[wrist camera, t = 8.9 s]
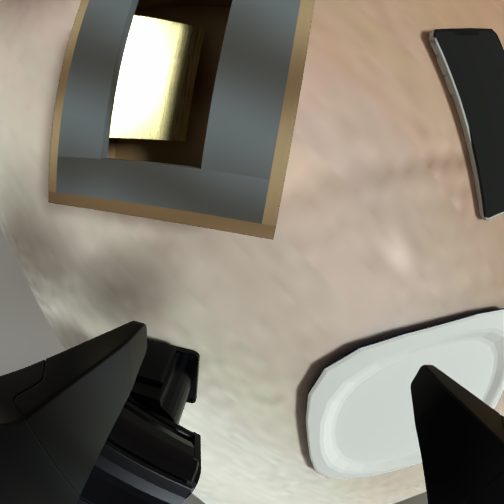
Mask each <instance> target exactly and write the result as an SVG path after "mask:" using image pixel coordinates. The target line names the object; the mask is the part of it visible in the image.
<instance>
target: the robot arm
mask: <svg viewBox="0 0 504 504" xmlns="http://www.w3.org/2000/svg"><path fill="white" fill-rule="evenodd" d="M192 356H193V357H195V358H193V357H192ZM199 359H200V356H199V354H198V353H197V352H195V351H191V350H187V349H182V348H178V347H174V346H170V345H166V344H162V343H158V342H154V341H150V340H147V328H146V325H145V324H144V323H141V322H137V321H131V322H129V323H127V324H125V325H122V326H120V327H118V328H116V329H113V330H111V331H109V332H107V333H104V334H102V335H100V336H98V337H95V338H93V339H91V340H89V341H86V342H84V343H82V344H79V345H77V346H75V347H73V348H70V349H68V350H66V351H64V352H61V353H59V354H57V355H54V356H52V357H50V358H47V359H46V361H45V360H43V361H41V362H38V363H36V364H33V365H31V366H28V367H26V368H23V369H20V370H18V371H15V372H12V373H9V374H6V375H3V376H0V504H182V503H183V501H184V500H185V499H186V498H187V497H188V496H189V495H190V494H191V493H192V492H193V490H194V489H195V487H196V485H197V483H198V480H199V478H200V473H201V441H200V435H199V434H197V433H195V432H191V431H189V430H187V429H186V428H184V427H182V426H180V425H178V424H179V421H180V418H181V415H182V412H183V409H184V406H185V403H186V402H189V403H194V402H195V401H196V398H197V384H198V371H199ZM410 389H411V396H412V404H413V412H414V420H415V427H416V432H417V437H418V442H419V447H420V453H421V458H422V464H423V470H424V476H425V483H426V490H427V498H428V504H504V417H503V416H502V415H500V414H499V413H498V412H496V411H495V410H494V409H492V408H491V407H490V406H488V405H487V404H486V403H484V402H483V401H482V400H480V399H479V398H478V397H476V396H475V395H473V394H472V393H471V392H469V391H468V390H467V389H465V388H464V387H463V386H461V385H460V384H458V383H457V382H456V381H454V380H453V379H452V378H450V377H449V376H447V375H446V374H445V373H443V372H442V371H441V370H439V369H438V368H436V367H435V366H434V365H422V366H421V367H420V369H419V371H418V372H417V374H416V376H415V377H414V379H413V381H412V383H411V388H410ZM191 398H192V399H191Z"/></svg>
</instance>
